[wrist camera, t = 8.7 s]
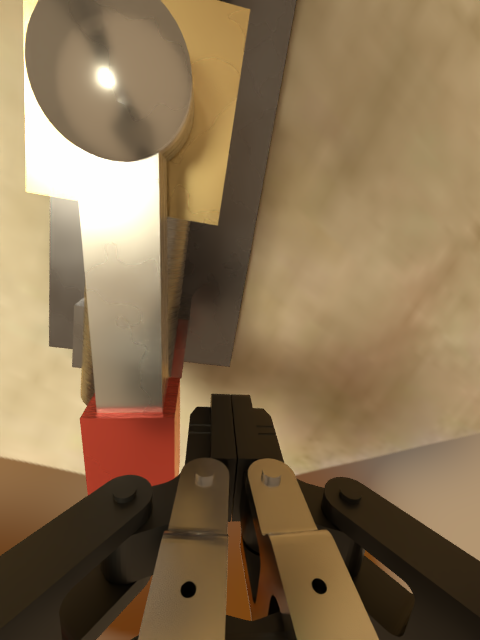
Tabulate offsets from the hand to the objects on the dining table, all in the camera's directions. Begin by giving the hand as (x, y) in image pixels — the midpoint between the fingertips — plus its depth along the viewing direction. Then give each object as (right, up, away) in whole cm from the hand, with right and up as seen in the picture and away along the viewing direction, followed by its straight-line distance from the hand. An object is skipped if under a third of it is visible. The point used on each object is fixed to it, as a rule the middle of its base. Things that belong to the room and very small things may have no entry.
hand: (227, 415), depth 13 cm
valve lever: (-3, +5, -1) cm, 6 cm away
